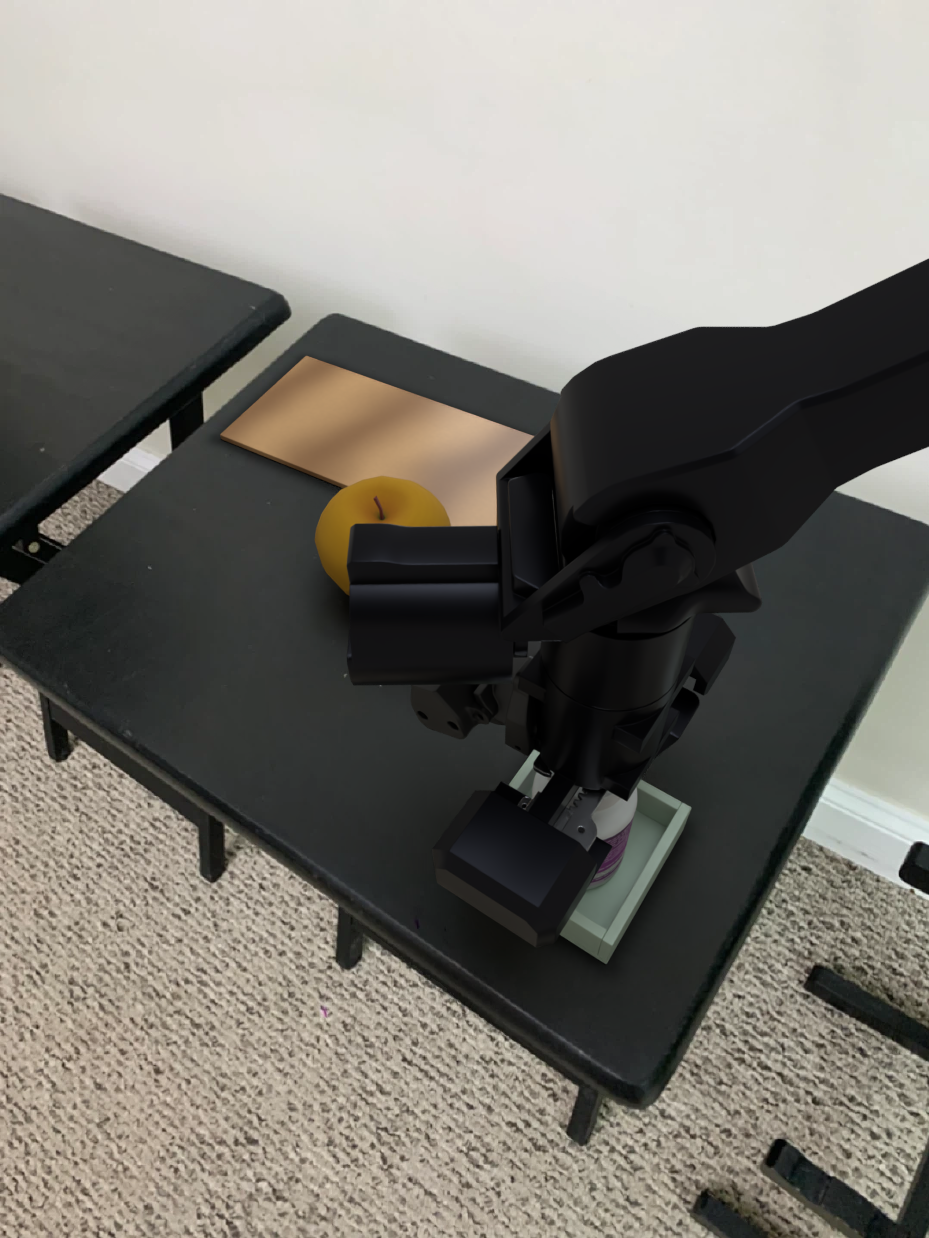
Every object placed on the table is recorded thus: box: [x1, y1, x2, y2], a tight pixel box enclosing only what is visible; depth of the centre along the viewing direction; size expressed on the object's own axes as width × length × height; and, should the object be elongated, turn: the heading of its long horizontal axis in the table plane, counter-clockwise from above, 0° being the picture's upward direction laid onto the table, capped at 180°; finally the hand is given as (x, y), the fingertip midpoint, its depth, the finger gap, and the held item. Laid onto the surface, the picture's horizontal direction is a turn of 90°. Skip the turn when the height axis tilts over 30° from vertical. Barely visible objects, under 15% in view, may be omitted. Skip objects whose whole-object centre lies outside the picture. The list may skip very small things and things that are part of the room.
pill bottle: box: [532, 771, 637, 890], centre depth 48 cm, size 5×5×10 cm
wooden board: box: [219, 355, 535, 526], centre depth 72 cm, size 40×12×1 cm, turn 60°
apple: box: [314, 476, 451, 596], centre depth 61 cm, size 9×9×9 cm
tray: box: [508, 750, 692, 965], centre depth 52 cm, size 9×9×3 cm
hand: (579, 823), depth 50 cm, fingers closed on pill bottle, 5 cm apart
